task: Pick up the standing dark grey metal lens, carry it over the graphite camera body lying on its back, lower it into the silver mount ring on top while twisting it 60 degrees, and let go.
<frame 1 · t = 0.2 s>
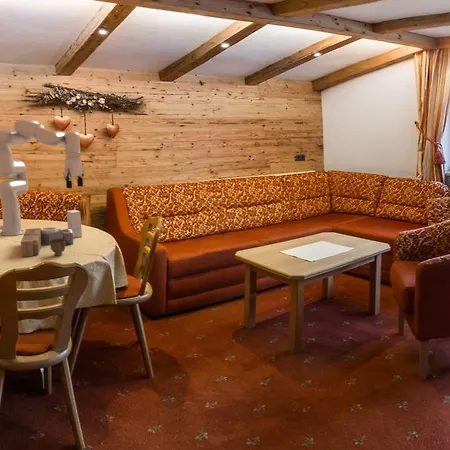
hand: (74, 187, 273), 30 cm above the table, tool pointing down, fingers open, 9 cm apart
lens: (68, 244, 273), on the table
camera body: (49, 242, 277), on the table
block tower: (32, 249, 260), on the table, touching camera body
skincare box: (74, 236, 292), on the table
cup: (58, 255, 250), on the table
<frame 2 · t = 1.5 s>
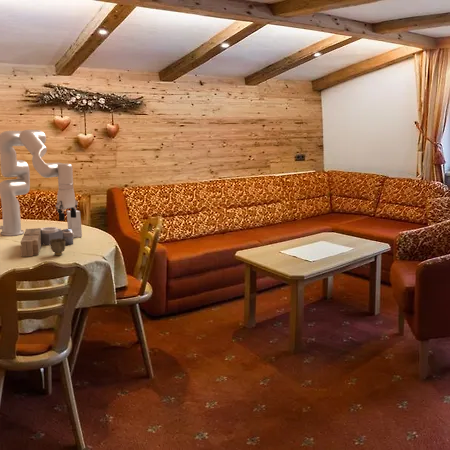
hand: (67, 219, 270), 14 cm above the table, tool pointing down, fingers open, 9 cm apart
nothing on the table moved.
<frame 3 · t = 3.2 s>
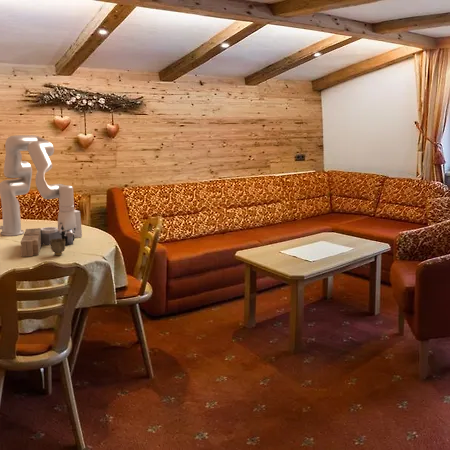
hand: (68, 241, 272), 1 cm above the table, tool pointing down, fingers closed on lens, 5 cm apart
lens: (68, 244, 273), on the table, touching gripper
everything else where it was.
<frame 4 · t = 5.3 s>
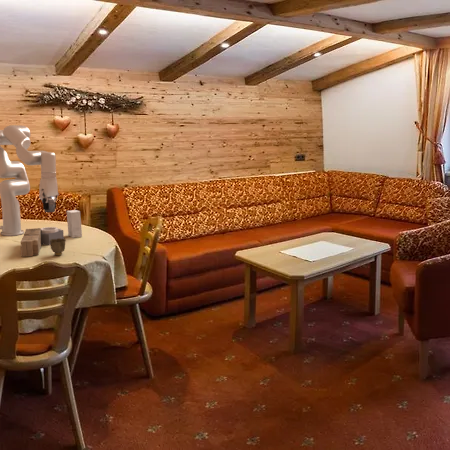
hand: (49, 208, 273), 19 cm above the table, tool pointing down, fingers closed on lens, 5 cm apart
lens: (49, 211, 273), point 17 cm above the table, touching gripper
everything else where it was.
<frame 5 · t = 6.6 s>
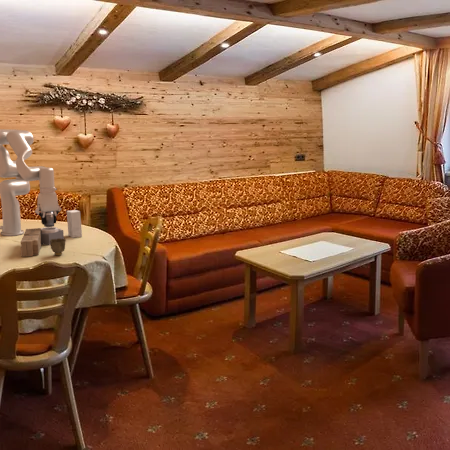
hand: (49, 223, 275), 10 cm above the table, tool pointing down, fingers closed on lens, 5 cm apart
lens: (49, 226, 275), point 9 cm above the table, touching gripper
everything else where it was.
when the fingers open (8 cm above the table, at t = 7.5 s): lens stays where it is, resting on camera body.
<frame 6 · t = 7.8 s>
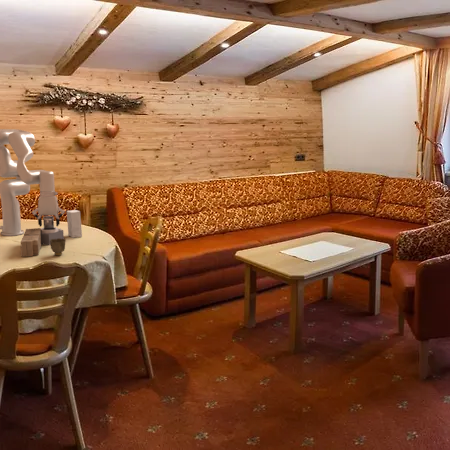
hand: (49, 225, 275), 9 cm above the table, tool pointing down, fingers open, 8 cm apart
lens: (49, 231, 275), point 6 cm above the table, touching camera body
everything else where it was.
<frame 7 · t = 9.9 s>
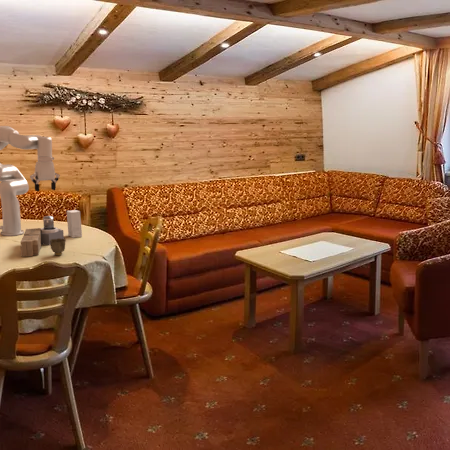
hand: (45, 190, 280), 27 cm above the table, tool pointing down, fingers open, 9 cm apart
nothing on the table moved.
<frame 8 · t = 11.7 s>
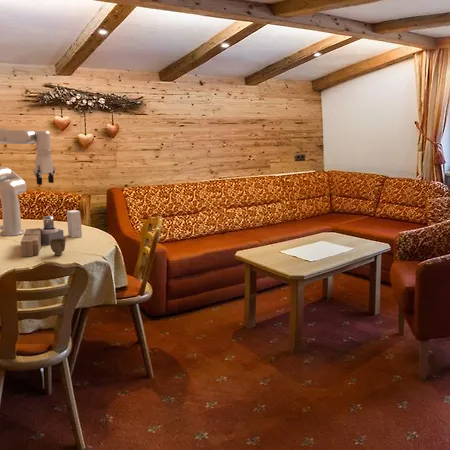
hand: (45, 183, 285), 30 cm above the table, tool pointing down, fingers open, 9 cm apart
nothing on the table moved.
at the end: lens 0.2 cm off-centre on the camera body, point 6.0 cm above the camera body's base; lens tilted 1°; the gripper is holding nothing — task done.
